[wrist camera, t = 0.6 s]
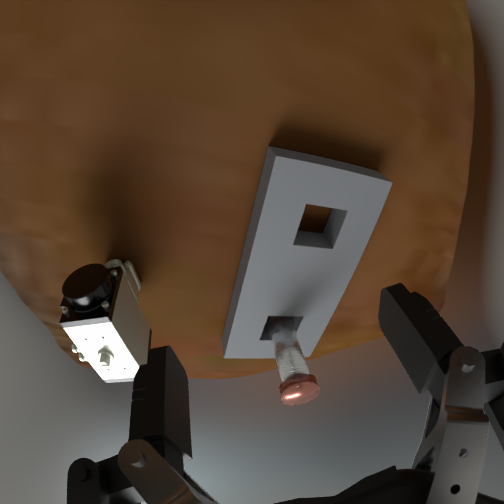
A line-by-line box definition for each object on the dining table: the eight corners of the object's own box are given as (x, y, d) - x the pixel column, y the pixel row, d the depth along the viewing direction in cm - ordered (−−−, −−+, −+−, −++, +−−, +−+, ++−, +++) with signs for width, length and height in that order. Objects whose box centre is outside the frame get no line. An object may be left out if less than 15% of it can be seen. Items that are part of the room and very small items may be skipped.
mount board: (268, 146, 26) (276, 155, 24) (377, 171, 29) (392, 182, 27) (221, 340, 40) (223, 358, 38) (303, 340, 43) (309, 356, 41)
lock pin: (264, 299, 37) (288, 387, 27) (295, 300, 38) (326, 384, 28) (257, 321, 39) (277, 406, 29) (286, 322, 40) (311, 403, 30)
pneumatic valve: (125, 225, 28) (97, 314, 19) (158, 308, 35) (153, 396, 26) (78, 236, 28) (38, 321, 18) (117, 314, 35) (103, 399, 25)
